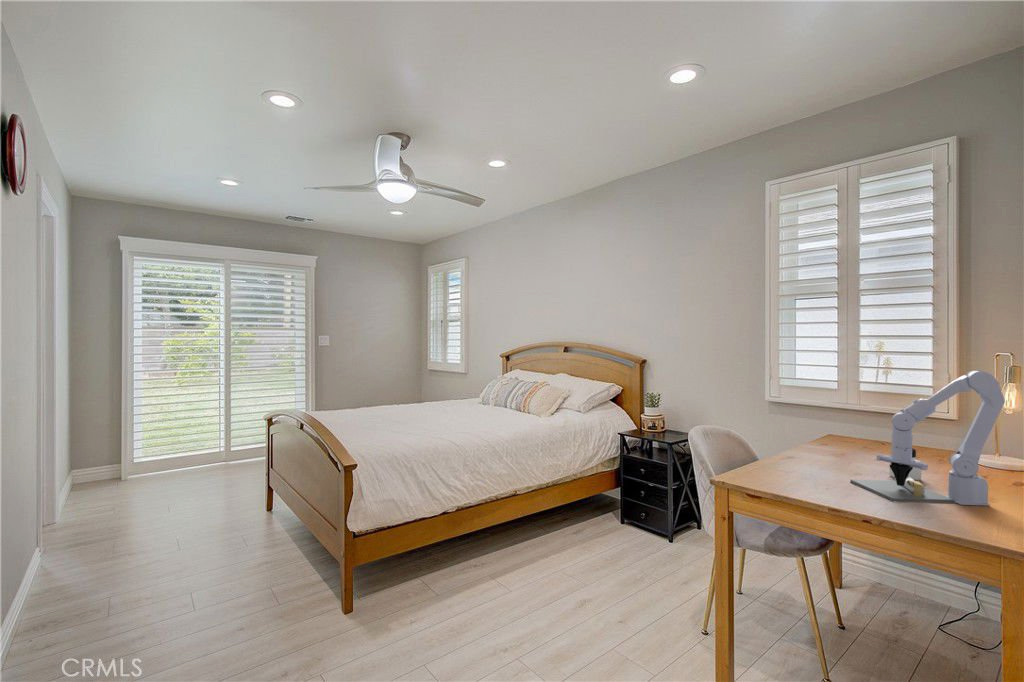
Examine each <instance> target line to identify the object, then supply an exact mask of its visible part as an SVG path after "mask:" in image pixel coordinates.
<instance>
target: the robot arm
mask: <svg viewBox="0 0 1024 682" xmlns="http://www.w3.org/2000/svg"><path fill="white" fill-rule="evenodd" d="M972 390H973V391H975V392H976V394H977V395H978V396H979V398H980V399H981V400H982V402H981V404H980V407H978V411H977V413H976V415H975V416H974V419H973V420H972V423H971V424H970V427H969V430H968V431H967V433H966V436H965V437H964V440H963V442H962V443H961V444H960V446H959V448H958V449H957V451H956V452H955V453H952V454H951V455H950V457H949V460H948V461H949V464H950V466H951V467H952V468H951V469H950V470H949V471H948V490H947V491H948V493H947V495H945V496H946V497H948V498H951V499H954V503H956V504H958V505H960V506H961V505H962V506H990V505H991V504H990V503H989V484H988V482H987V480H986V479H985V478H984V477H983V476H981V475H978V472H979V461H980V459H981V453H982V450H983V447H984V445H986V444H985V443H986V442H987V441H988V438H989V436H990V434H991V432H992V430H993V428H994V425H995V424H996V422H997V419H998V417H999V415H1000V413H1001V411H1002V409H1003V407H1004V405H1005V403H1006V402H1005V397H1004V394H1003V391H1002V389H1001V385H1000V382H999V381H998V379H997V378H996V377H995V376H994V374H991V373H990V372H987V371H983V370H979V369H978V370H977V369H975V370H971V371H968V372H967V373H966V374H965V375H961V376H960V377H957V378H956V379H955V380H953V381H950V383H948V384H946V385H945V386H944V387H942V388H941V389H940V390H938V391H937V392H935V393H934V394H932V395H931V396H930V397H927V398H919V399H918V400H917V399H914V400H913V401H912V403H911V404H910V405H908V406H907V407H905V408H904V409H903V408H900V409H899V411H900V412H897V413H895V414H894V415H893V416H892V418H891V423H892V425H893V426H892V428H891V430H892V432H891V449H890V450H891V451H890V452H891V453H890V455H891V456H890V455H886V454H885V455H884V454H876V461H879V462H886V463H889V469H890V468H891V470H892V471H893V473H894V476H895V477H894V478H895V481H896V482H897V485H899V486H904V484H905V481H906V478H907V476H908V474H909V473H910V471H911V470H912V469H913V467H914V468H919V469H921V471H927V470H929V469H928V467H929V466H928V465H929V464H928V463H924V462H922V461H921V462H922V463H921V462H917V461H918V460H917V461H914V460H912V448H913V434H912V433H913V432H912V431H913V430H912V429H913V428H914V426H915V423H917V424H918V423H920V422H921V421H923V420H925V419H926V418H928V417H930V416H931V415H932V414H934V413H935V412H936V407H937V406H939V405H940V404H942V403H943V402H944V403H945V402H946V401H947V400H949V399H950V398H952V397H954V396H956V395H957V394H959V393H963V392H964V393H965V392H966V393H967V392H972ZM890 463H891V465H890Z"/></svg>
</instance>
